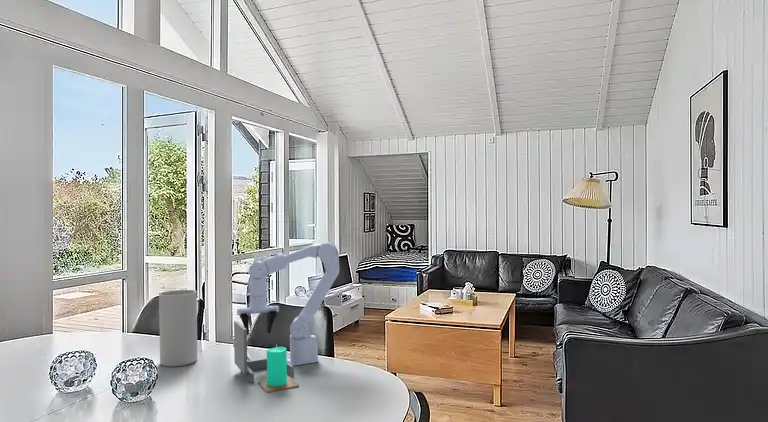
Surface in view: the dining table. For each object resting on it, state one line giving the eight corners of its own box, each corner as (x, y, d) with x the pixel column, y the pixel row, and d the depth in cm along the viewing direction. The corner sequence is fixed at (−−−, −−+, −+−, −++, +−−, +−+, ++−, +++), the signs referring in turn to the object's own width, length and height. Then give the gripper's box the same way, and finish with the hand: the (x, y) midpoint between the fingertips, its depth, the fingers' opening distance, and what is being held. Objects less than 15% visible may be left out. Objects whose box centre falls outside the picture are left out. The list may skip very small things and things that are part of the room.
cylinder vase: (167, 369, 177) (166, 296, 177) (155, 362, 186) (154, 292, 186) (203, 362, 185) (202, 292, 185) (189, 355, 195) (188, 288, 194)
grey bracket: (280, 363, 182) (279, 315, 182) (293, 375, 169) (293, 323, 168) (233, 370, 174) (232, 320, 174) (244, 384, 161) (243, 329, 161)
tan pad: (288, 377, 167) (288, 376, 167) (299, 386, 158) (299, 385, 158) (258, 382, 162) (258, 381, 162) (266, 392, 153) (266, 391, 153)
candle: (287, 379, 164) (286, 341, 163) (286, 385, 158) (285, 346, 158) (268, 380, 163) (267, 342, 163) (266, 386, 157) (265, 347, 157)
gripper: (275, 292, 190) (274, 329, 190) (235, 295, 183) (234, 333, 183) (280, 295, 184) (280, 333, 184) (239, 298, 177) (239, 337, 177)
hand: (258, 333), depth 183 cm, fingers open, 7 cm apart
